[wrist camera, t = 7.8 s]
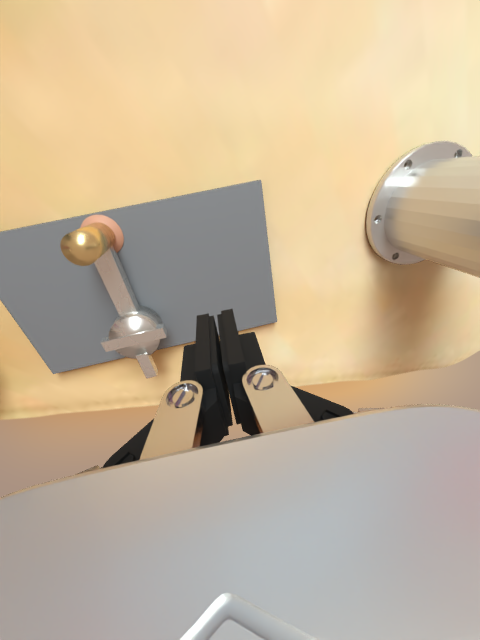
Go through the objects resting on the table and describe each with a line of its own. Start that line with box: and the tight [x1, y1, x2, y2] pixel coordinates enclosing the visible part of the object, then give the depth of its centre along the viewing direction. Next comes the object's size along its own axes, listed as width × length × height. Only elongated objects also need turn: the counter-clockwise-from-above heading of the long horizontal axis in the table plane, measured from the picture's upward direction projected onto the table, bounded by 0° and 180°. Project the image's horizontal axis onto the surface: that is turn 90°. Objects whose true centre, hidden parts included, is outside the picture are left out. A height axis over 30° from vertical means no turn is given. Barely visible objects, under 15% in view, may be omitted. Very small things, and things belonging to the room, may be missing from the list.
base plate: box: [0, 180, 277, 374], centre depth 28 cm, size 28×16×1 cm, turn 100°
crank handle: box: [60, 222, 167, 378], centre depth 26 cm, size 16×6×5 cm, turn 11°
